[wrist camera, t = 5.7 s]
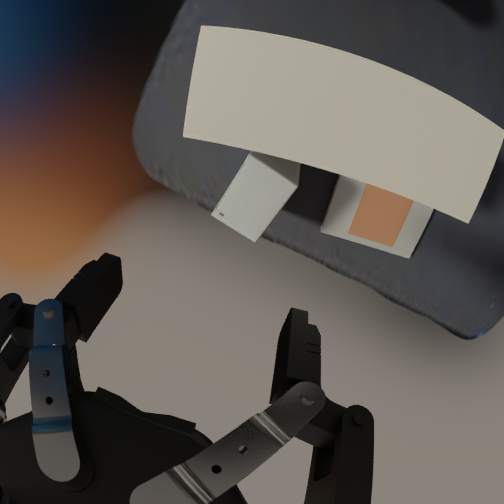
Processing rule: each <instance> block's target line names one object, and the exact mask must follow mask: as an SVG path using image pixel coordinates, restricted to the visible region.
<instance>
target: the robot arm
mask: <svg viewBox="0 0 504 504" xmlns="http://www.w3.org/2000/svg"><path fill="white" fill-rule="evenodd" d="M122 284H123V279H122V267H121V259H120V257H117V256H115V255H112V254H109V253H104V254H103V255H102V256H101V257H100V258H99V259H98V260H97V261H95V260H93V261H91V262H89V263H87V264H85V265H84V266H83V267H82V268H81V269H80V271H79V272H78V273H77V274H76V275H75V276H74V277H73V279H71V280H70V281H69V283H68V284H67V285H66V286H65V287H64V288H63V289H62V291H61V292H60V293H59V294H58V295H57V296H56V298H55V299H45V300H43V301H41V302H40V303H39V304H38V305H32V304H26V303H23V301H22V299H21V297H20V295H18V294H16V293H9V294H7V295H5V296H3V297H2V298H1V299H0V350H1V347H2V346H3V344H4V343H5V341H6V340H7V338H8V337H9V335H10V334H11V336H12V337H11V338H10V340H9V341H8V343H7V344H6V346H5V347H4V349H3V350H2V352H1V353H0V504H247V502H246V500H245V498H244V497H243V495H242V493H241V491H240V490H239V488H238V486H237V483H238V482H240V481H241V480H242V479H244V478H245V477H246V476H248V475H249V474H250V473H252V472H253V471H254V470H255V469H257V468H258V467H259V466H260V465H261V464H263V463H264V462H265V461H266V460H267V459H269V458H270V457H271V456H272V455H273V454H275V453H276V452H277V451H278V450H279V449H280V448H281V447H283V446H284V445H285V444H286V443H287V442H288V441H289V440H290V439H292V437H296V438H298V439H300V440H303V441H305V442H307V443H309V444H311V445H313V453H312V460H311V466H310V473H309V479H308V485H307V491H306V496H305V502H304V504H371V493H372V479H373V459H374V457H373V456H374V419H373V416H372V414H371V412H370V411H369V410H368V409H367V408H365V407H363V406H360V405H352V406H350V407H348V408H345V407H343V406H341V405H338V404H336V403H334V402H332V401H330V400H329V399H328V398H327V397H326V396H325V393H324V391H323V390H322V389H321V355H320V354H321V347H320V346H321V335H320V333H319V331H318V329H317V326H315V325H312V324H308V312H307V311H304V310H300V309H296V308H291V309H290V311H289V313H288V315H287V318H286V320H285V322H284V325H283V327H282V329H281V332H280V335H279V339H278V345H277V352H276V360H275V368H274V375H273V382H272V389H271V396H270V402H269V404H272V405H271V406H269V407H268V408H267V409H265V410H264V411H263V412H261V413H260V414H255V415H254V416H252V417H251V418H249V419H248V420H247V421H245V422H244V423H242V424H241V425H240V426H239V427H237V428H236V429H234V430H233V431H231V432H230V433H229V434H227V435H226V436H224V437H223V438H221V439H220V440H218V441H217V442H215V443H214V444H213V442H212V441H211V440H210V439H209V438H207V437H206V436H205V435H204V434H202V433H201V432H199V431H198V430H196V429H195V426H196V423H193V422H190V421H187V420H183V419H180V418H177V417H174V416H171V415H163V414H154V413H147V412H142V411H140V410H139V409H137V408H136V407H135V406H133V405H132V404H130V403H129V402H127V401H126V400H125V399H123V398H122V397H120V396H119V395H116V394H114V393H112V392H109V391H107V390H105V389H103V388H100V387H98V388H97V390H96V392H91V391H86V392H85V391H84V388H83V385H82V382H81V378H80V371H79V365H78V358H77V350H76V345H75V343H76V342H77V340H78V339H80V340H82V341H84V342H87V341H88V339H89V338H90V336H91V334H92V333H93V331H94V330H95V328H96V327H97V325H98V324H99V322H100V321H101V320H102V318H103V317H104V315H105V314H106V312H107V311H108V309H109V308H110V306H111V305H112V304H113V302H114V301H115V299H116V298H117V297H118V295H119V293H120V292H121V289H122ZM28 361H29V379H30V393H31V404H32V411H31V412H29V413H26V414H24V415H21V416H19V417H17V418H14V419H11V420H9V421H6V420H7V416H6V407H5V403H6V401H7V399H8V397H9V395H10V393H11V391H12V389H13V388H14V385H15V384H16V382H17V380H18V379H19V377H20V375H21V373H22V371H23V370H24V368H25V366H26V365H27V363H28Z"/></svg>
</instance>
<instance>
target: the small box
mask: <svg viewBox="0 0 504 504" xmlns="http://www.w3.org/2000/svg"><path fill="white" fill-rule="evenodd" d="M299 175H300V163H299V162H295V161H291V160H288V159H284V158H280V157H276V156H272V155H268V154H264V153H260V152H256V151H251V152H250V154H249V155H248V156H247V158H246V160H245V162H244V164H243V165H242V167H241V168H240V170H239V171H238V173H237V175H236V176H235V178H234V179H233V181H232V183H231V184H230V186H229V187H228V189H227V191H226V192H225V194H224V195H223V197H222V198H221V200H220V202H219V203H218V205H217V206H216V208H215V209H214V211H213V212H212V214H211V215H212V216H214V217H215V218H216V219H218V220H220V221H221V222H223V223H224V224H226V225H228V226H229V227H231V228H232V229H234V230H236V231H237V232H239V233H240V234H242V235H244V236H245V237H247V238H249V239H250V240H252V241H253V242H257V240H258V239H259V238H260V237H261V235H262V234H263V233H264V231H265V230H266V229H267V227H268V226H269V225H270V223H271V222H272V221H273V220H274V218H275V217H276V216H277V214H278V213H279V212H280V210H281V209H282V208H283V206H284V205H285V204H286V202H287V201H288V200H289V198H290V197H291V196H292V194H293V193H294V192H295V190H296V189H297V188H298V186H299Z"/></svg>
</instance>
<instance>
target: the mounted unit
mask: <svg viewBox="0 0 504 504" xmlns="http://www.w3.org/2000/svg"><path fill="white" fill-rule="evenodd" d="M183 137H187V138H193V139H198V140H204V141H209V142H214V143H219V144H224V145H229V146H233V147H238V148H242V149H247V150H251V151H256V152H260V153H264V154H268V155H272V156H276V157H280V158H284V159H288V160H291V161H295V162H299V163H302V164H306V165H310V166H313V167H317V168H320V169H323V170H327V171H330V172H333V173H337V174H340V175H343V176H346V177H349V178H352V179H355V180H358V181H361V182H364V183H367V184H370V185H373V186H376V187H379V188H382V189H384V190H387V191H390V192H393V193H395V194H398V195H401V196H403V197H406V198H409V199H411V200H414V201H416V202H419V203H421V204H424V205H426V206H429V207H431V208H434V209H436V210H438V211H441V212H443V213H446V214H448V215H450V216H452V217H455V218H457V219H459V220H461V221H464V222H466V223H469V221H470V219H471V217H472V215H473V213H474V211H475V209H476V207H477V205H478V202H479V200H480V198H481V196H482V193H483V191H484V189H485V186H486V184H487V182H488V179H489V177H490V174H491V172H492V169H493V167H494V164H495V161H496V159H497V156H498V153H499V150H500V147H501V144H502V141H503V138H504V130H503V129H501V128H500V127H499V126H497V125H496V124H494V123H493V122H491V121H490V120H488V119H487V118H485V117H484V116H482V115H481V114H479V113H478V112H476V111H474V110H473V109H471V108H470V107H468V106H466V105H465V104H463V103H461V102H459V101H458V100H456V99H454V98H452V97H451V96H449V95H447V94H445V93H443V92H441V91H439V90H437V89H436V88H434V87H432V86H430V85H428V84H426V83H423V82H421V81H419V80H417V79H415V78H413V77H411V76H408V75H406V74H404V73H402V72H399V71H397V70H395V69H392V68H390V67H387V66H385V65H382V64H379V63H377V62H374V61H371V60H369V59H366V58H363V57H360V56H357V55H354V54H351V53H348V52H345V51H342V50H338V49H335V48H332V47H328V46H324V45H321V44H317V43H313V42H309V41H305V40H300V39H296V38H291V37H287V36H281V35H276V34H271V33H265V32H258V31H252V30H244V29H236V28H227V27H215V26H201V30H200V35H199V39H198V44H197V50H196V55H195V60H194V66H193V71H192V77H191V83H190V89H189V96H188V102H187V109H186V116H185V124H184V132H183Z"/></svg>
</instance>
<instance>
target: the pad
mask: <svg viewBox="0 0 504 504" xmlns="http://www.w3.org/2000/svg"><path fill="white" fill-rule="evenodd" d="M433 210H434V208H431V207H429V206H426V205H424V204H421V203H419V202H416V201H414V200H411V199H409V198H406V197H403V196H401V195H398V194H395V193H393V192H390V191H387V190H384V189H382V188H379V187H376V186H373V185H370V184H367V183H364V182H361V181H358V180H355V179H352V178H349V177H346V176H343V175H340V174H339V176H338V179H337V182H336V185H335V188H334V191H333V194H332V197H331V200H330V203H329V206H328V209H327V211H326V214H325V217H324V220H323V223H322V226H321V232H322V233H326V234H329V235H333V236H336V237H339V238H343V239H346V240H350V241H353V242H356V243H360V244H363V245H367V246H370V247H373V248H376V249H380V250H383V251H386V252H389V253H393V254H396V255H399V256H402V257H405V258H408V259H409V258H410V256H411V254H412V252H413V250H414V248H415V246H416V244H417V242H418V240H419V238H420V237H421V235H422V233H423V231H424V229H425V226H426V224H427V222H428V220H429V218H430V216H431V214H432V212H433Z"/></svg>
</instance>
